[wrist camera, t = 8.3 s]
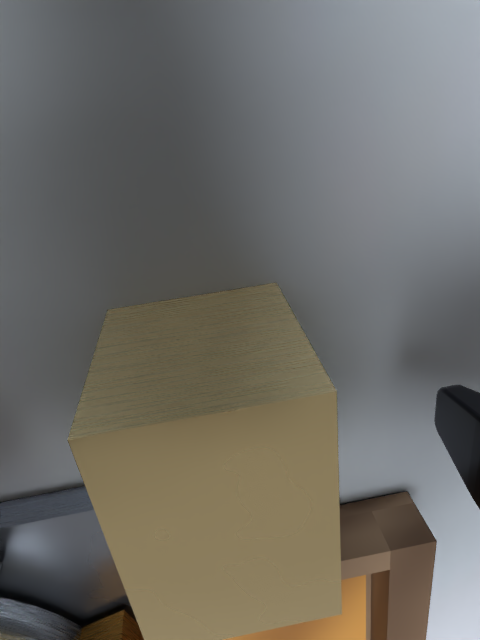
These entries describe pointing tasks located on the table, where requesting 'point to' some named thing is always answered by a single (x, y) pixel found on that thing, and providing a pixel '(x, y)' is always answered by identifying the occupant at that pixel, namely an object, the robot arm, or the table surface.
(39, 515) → the sprocket base
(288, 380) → the tan rectangular block
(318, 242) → the table surface
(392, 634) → the brown open tray
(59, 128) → the table surface
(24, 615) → the sprocket
